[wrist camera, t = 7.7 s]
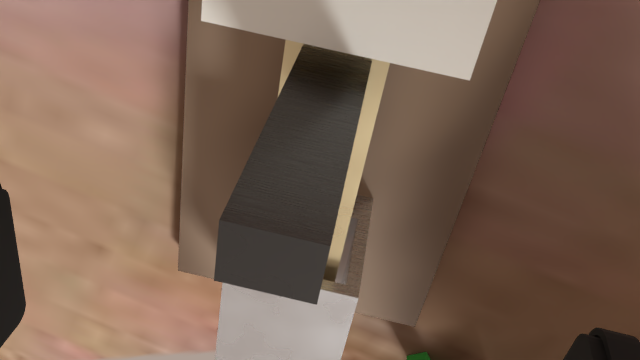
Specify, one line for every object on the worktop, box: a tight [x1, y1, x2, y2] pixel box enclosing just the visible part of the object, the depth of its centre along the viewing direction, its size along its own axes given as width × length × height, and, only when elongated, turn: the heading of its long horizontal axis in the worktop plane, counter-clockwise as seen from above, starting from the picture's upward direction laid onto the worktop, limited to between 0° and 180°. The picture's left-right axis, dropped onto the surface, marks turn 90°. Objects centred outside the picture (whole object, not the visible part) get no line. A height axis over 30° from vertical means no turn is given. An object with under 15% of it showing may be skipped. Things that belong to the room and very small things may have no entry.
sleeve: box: [215, 195, 373, 360], centre depth 26 cm, size 5×7×6 cm
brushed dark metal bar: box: [214, 40, 390, 305], centre depth 17 cm, size 3×13×11 cm, turn 170°
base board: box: [178, 0, 540, 327], centre depth 24 cm, size 12×21×1 cm, turn 170°
